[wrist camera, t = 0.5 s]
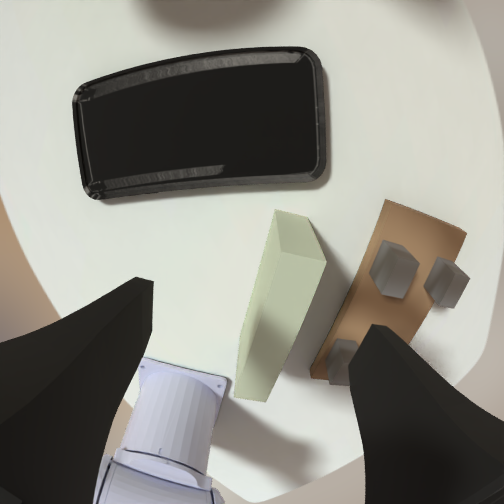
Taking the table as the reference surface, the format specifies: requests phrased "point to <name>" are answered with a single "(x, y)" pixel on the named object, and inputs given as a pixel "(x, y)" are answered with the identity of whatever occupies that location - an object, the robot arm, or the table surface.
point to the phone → (202, 122)
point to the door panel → (277, 303)
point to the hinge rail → (388, 306)
